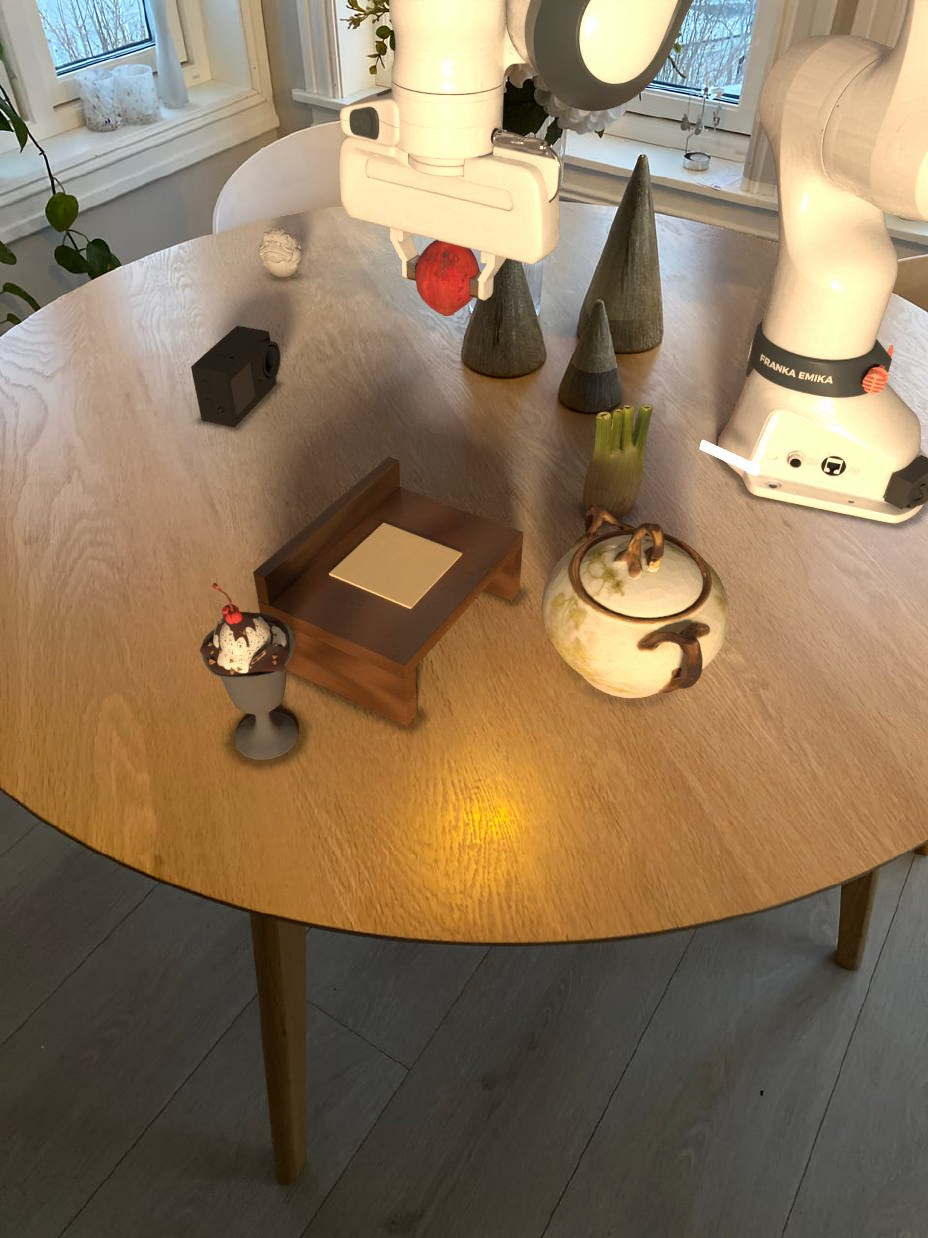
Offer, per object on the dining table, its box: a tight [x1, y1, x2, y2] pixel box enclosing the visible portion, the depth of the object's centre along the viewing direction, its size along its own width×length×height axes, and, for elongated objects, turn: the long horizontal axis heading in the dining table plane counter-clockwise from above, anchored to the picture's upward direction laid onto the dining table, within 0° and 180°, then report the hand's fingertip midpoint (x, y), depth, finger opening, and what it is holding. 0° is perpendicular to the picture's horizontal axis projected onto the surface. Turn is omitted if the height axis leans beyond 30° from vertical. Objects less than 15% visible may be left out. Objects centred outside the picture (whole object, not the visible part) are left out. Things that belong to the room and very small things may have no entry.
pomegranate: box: [415, 239, 481, 317], centre depth 85 cm, size 6×6×8 cm
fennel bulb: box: [581, 404, 654, 520], centre depth 93 cm, size 6×5×12 cm
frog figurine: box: [257, 227, 303, 278], centre depth 135 cm, size 6×7×7 cm
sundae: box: [199, 582, 299, 761], centre depth 70 cm, size 7×7×15 cm
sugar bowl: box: [541, 504, 731, 699], centre depth 77 cm, size 20×15×15 cm
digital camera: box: [190, 325, 281, 428], centre depth 109 cm, size 10×5×7 cm, turn 161°
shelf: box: [252, 455, 525, 728], centre depth 81 cm, size 14×19×10 cm
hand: (446, 286), depth 86 cm, fingers closed on pomegranate, 6 cm apart
